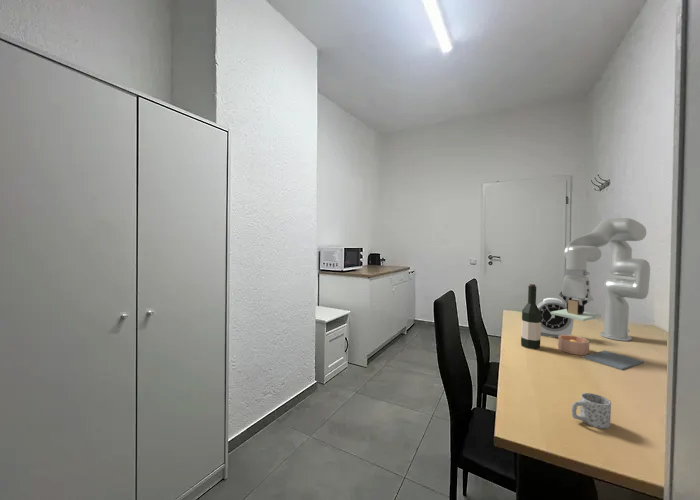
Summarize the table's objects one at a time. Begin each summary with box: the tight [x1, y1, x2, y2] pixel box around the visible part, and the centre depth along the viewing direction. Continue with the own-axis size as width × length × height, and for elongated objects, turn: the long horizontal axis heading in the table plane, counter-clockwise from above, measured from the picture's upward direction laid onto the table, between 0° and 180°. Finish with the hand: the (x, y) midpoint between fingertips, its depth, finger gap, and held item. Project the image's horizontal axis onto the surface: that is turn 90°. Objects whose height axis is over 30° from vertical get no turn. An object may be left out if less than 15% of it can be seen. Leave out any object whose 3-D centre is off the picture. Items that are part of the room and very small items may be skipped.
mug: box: [571, 392, 612, 430], centre depth 87 cm, size 10×7×7 cm, turn 92°
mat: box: [582, 350, 645, 371], centre depth 133 cm, size 18×14×1 cm
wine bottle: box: [520, 283, 542, 350], centre depth 149 cm, size 8×8×30 cm
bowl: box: [557, 334, 590, 356], centre depth 144 cm, size 12×12×6 cm
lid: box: [550, 298, 602, 322], centre depth 144 cm, size 14×14×7 cm
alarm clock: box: [536, 297, 575, 339], centre depth 166 cm, size 18×8×20 cm, turn 62°
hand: (575, 312), depth 144 cm, fingers closed on lid, 4 cm apart
